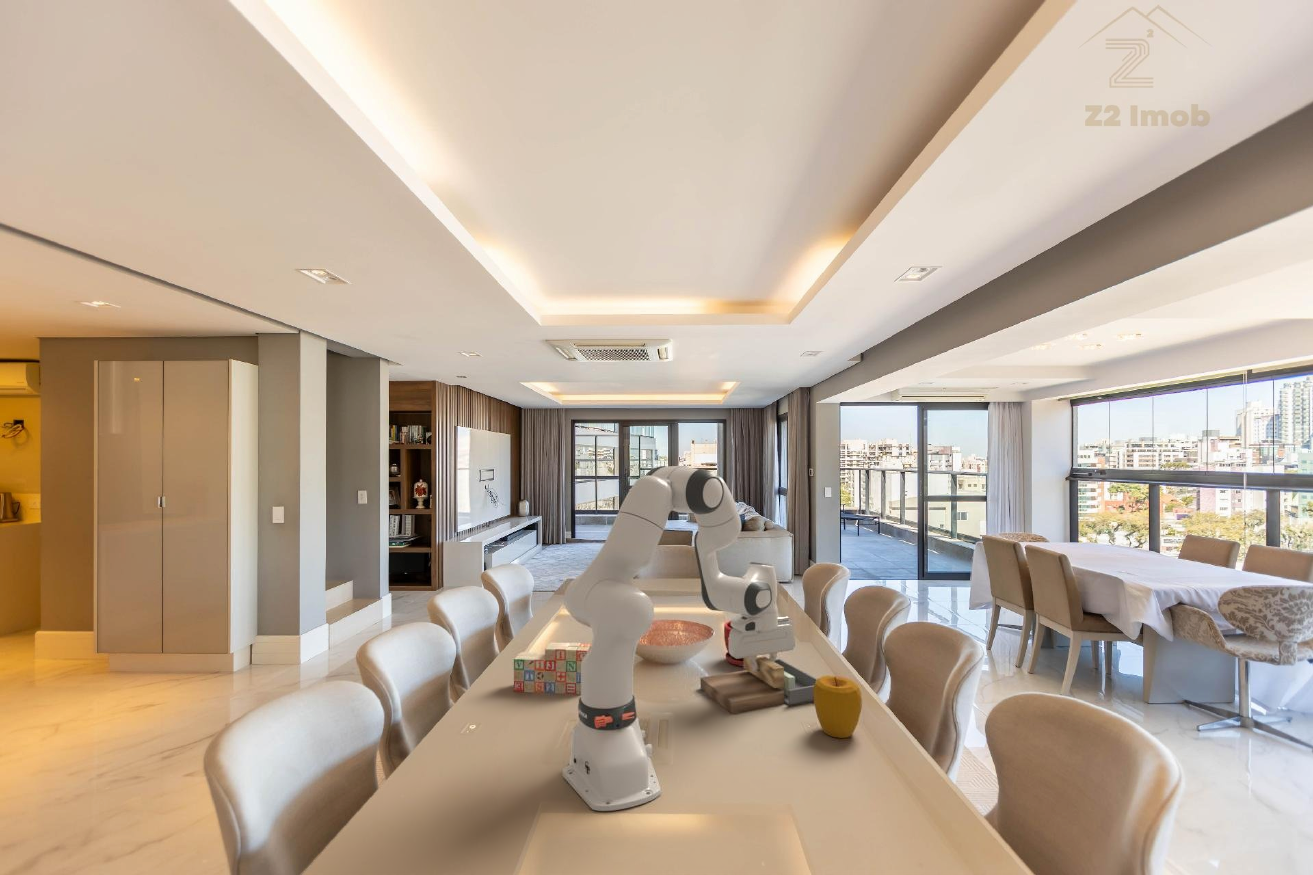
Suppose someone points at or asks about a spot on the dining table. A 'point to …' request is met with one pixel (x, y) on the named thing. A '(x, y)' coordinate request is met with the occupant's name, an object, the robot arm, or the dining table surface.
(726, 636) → the plant pot
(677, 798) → the dining table surface
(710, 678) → the board
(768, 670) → the wooden plank piece
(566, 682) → the stack of blocks
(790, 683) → the tile
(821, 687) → the apple
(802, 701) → the tray
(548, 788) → the dining table surface
